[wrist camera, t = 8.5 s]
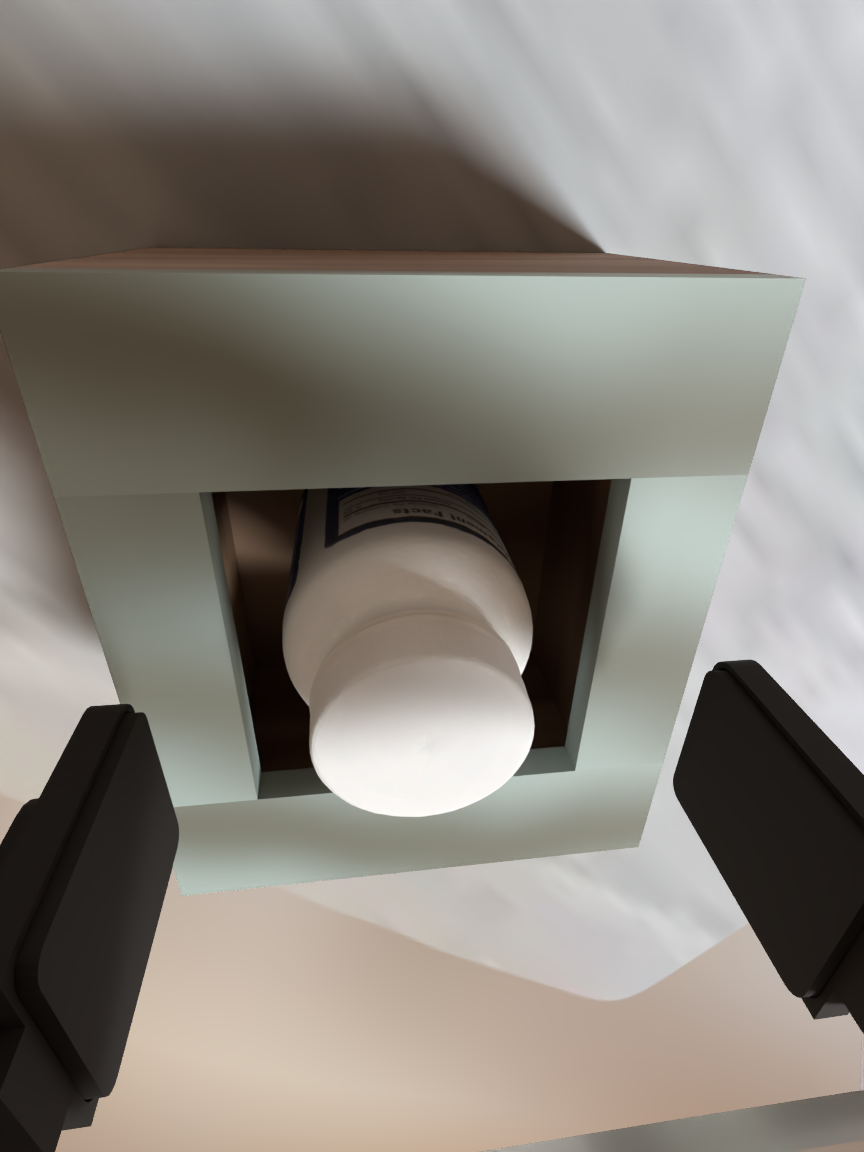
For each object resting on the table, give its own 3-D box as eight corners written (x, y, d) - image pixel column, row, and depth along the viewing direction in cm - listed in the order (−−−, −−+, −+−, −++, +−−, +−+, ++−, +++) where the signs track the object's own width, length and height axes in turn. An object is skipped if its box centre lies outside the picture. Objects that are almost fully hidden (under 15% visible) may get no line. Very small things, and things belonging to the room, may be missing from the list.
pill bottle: (403, 605, 21) (442, 873, 13) (266, 522, 19) (204, 782, 10) (511, 489, 19) (638, 713, 11) (373, 381, 17) (402, 560, 8)
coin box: (151, 247, 15) (-20, 271, 8) (607, 253, 17) (805, 278, 10) (233, 678, 22) (181, 895, 15) (548, 657, 24) (638, 846, 17)
